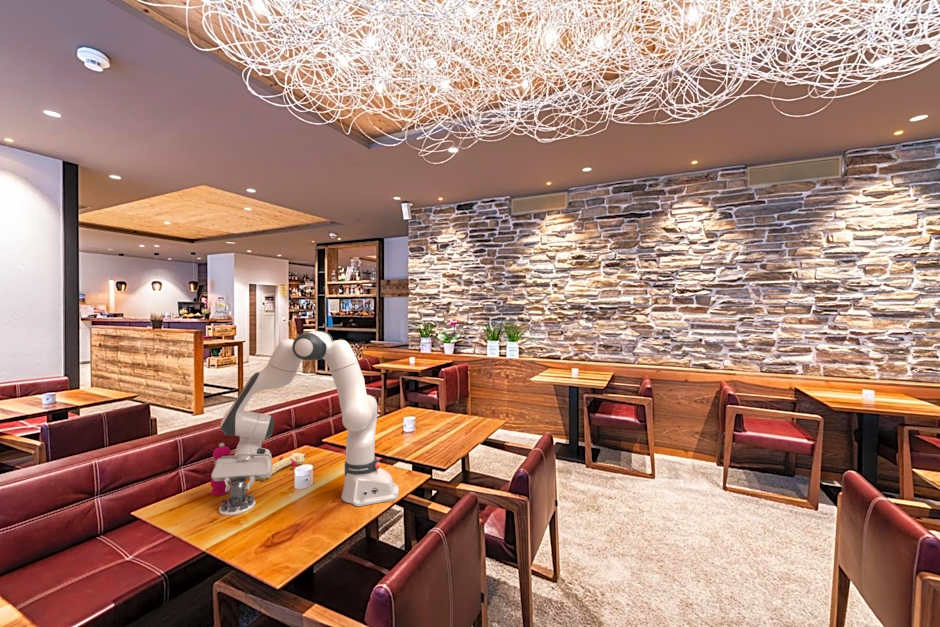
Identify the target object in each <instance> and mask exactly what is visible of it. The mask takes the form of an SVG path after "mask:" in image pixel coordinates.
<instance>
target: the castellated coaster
mask: <svg viewBox="0 0 940 627" xmlns="http://www.w3.org/2000/svg"><path fill="white" fill-rule="evenodd" d="M255 506H256V500H255V497H254V494H251V493H250V494H248V495H247V494H246V496H245V502H244V503H243V504H240V505H236V506H232V505H230V496H229V497H228V496H227V499H223V500H222V501H221V503H220V506H219V508H218V512H219V514H220V515H222V516H236V515H237V516H238V515H241V514H244V513H246V512H248V511H250V510H252V509H253V508H255Z"/></svg>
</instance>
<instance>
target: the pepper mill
mask: <svg viewBox="0 0 940 627" xmlns="http://www.w3.org/2000/svg"><path fill="white" fill-rule="evenodd" d="M222 456H231V449H230V447H228V446H225V443H224V442H220V443H219V445H218V447H216V448H214V450H213V453H212V457H213V458H214V460H213V461H214V463H213V465H215V464H216V461H217V459H219V458H221V457H222ZM221 459H222V458H221ZM231 481H232V480H231ZM229 485H230V483H229ZM210 486H211V488H212V490H211V495H212V496H213V497H221V496H224V495H226V494H228V493H229V494H230V492H226V491H225V489H226V484H225V481H214V480H213V479H212V478H211V480H210Z"/></svg>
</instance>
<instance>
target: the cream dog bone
mask: <svg viewBox="0 0 940 627" xmlns="http://www.w3.org/2000/svg"><path fill="white" fill-rule="evenodd" d="M305 459H306V454H304V453H301V452H294V453H292V454H291V455H289V456H288V457H285V458H284V455H282V456H280V457H279V458H278V461H277V462H275V463H272V471H271V475H270V476H269V477H268V478H257V479H255V481H259V480H260V481H261V482H262V483H264V482H266V481H267V479H270V478H271V477H272V475H273V474H276V472H278V471H279V470H281V469H283V468H284V467H287V466H289V465H291V466H292V467H291V470H294V469H295V468H296V467H297V466H298V465H301V464H302V465H303V463H305Z"/></svg>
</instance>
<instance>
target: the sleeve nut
mask: <svg viewBox="0 0 940 627" xmlns="http://www.w3.org/2000/svg"><path fill="white" fill-rule="evenodd" d="M246 480H247V479H245V478H238V479H234V480H232V481H231V482H230V492H229V497H230V505H232V506H236V505H240V504H243V503H244V502H245V496H246V497H247V493H246V491H247V490H244V487H245V484H247V483H246Z"/></svg>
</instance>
